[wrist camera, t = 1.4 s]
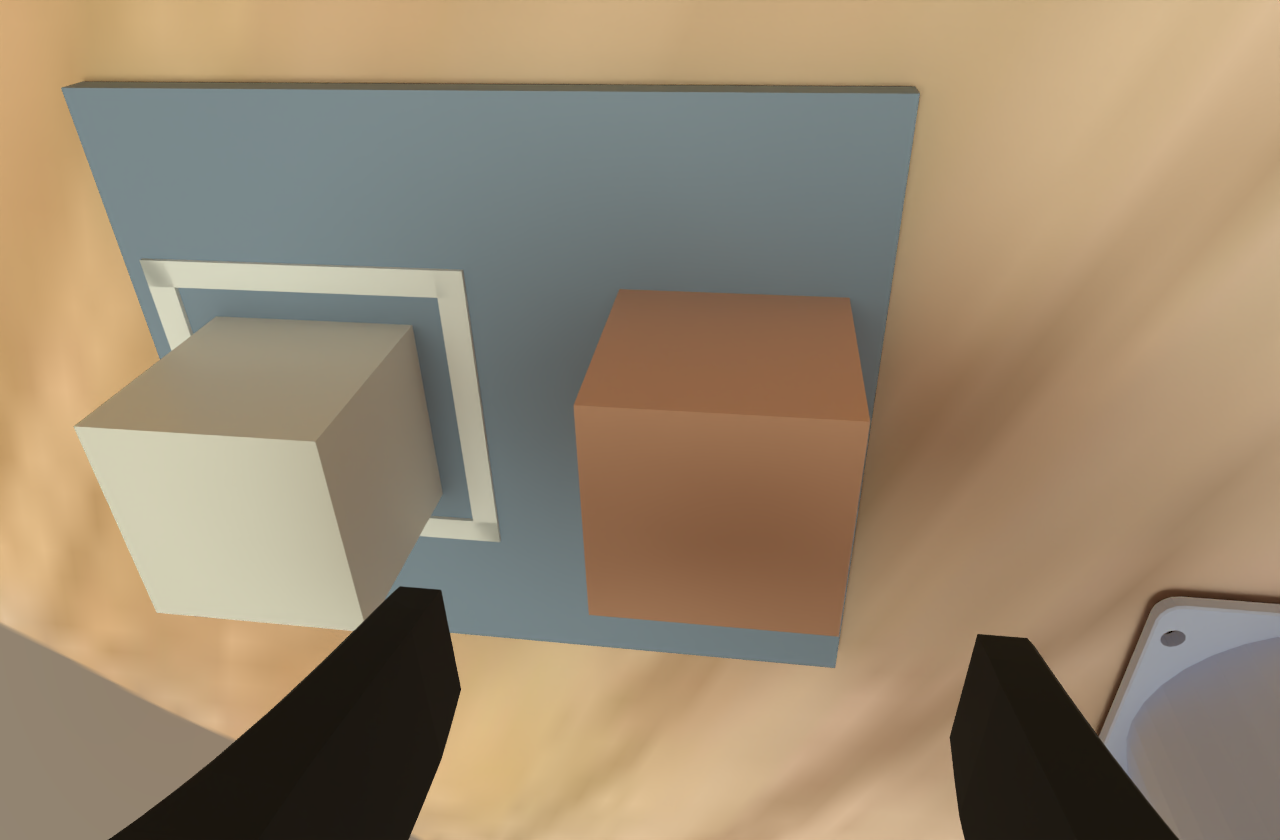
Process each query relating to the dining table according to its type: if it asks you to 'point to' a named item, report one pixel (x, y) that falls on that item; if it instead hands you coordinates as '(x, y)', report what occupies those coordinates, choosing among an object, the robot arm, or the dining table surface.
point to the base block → (271, 469)
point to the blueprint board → (504, 269)
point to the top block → (722, 459)
